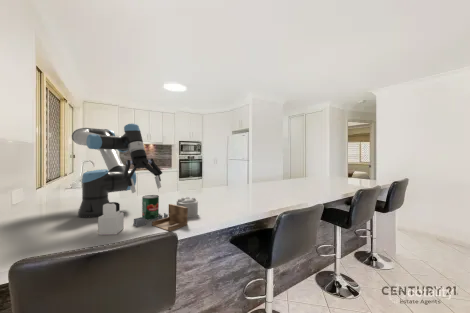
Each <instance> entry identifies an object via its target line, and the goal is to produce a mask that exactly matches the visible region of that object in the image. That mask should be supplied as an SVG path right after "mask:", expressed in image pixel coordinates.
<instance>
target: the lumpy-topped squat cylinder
mask: <svg viewBox="0 0 470 313" xmlns="http://www.w3.org/2000/svg"><path fill="white" fill-rule="evenodd" d="M198 203H199V202H198V200H197V198H196V197H192V198H190V196H186V197H183V196H182V197H181V198H178V199H177V201H176V205H178V206H183V207H188V218H191V217H192V218H193V217H198V214H199V213H198V211H199V208H198V206H199V204H198Z"/></svg>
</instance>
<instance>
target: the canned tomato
mask: <svg viewBox="0 0 470 313" xmlns="http://www.w3.org/2000/svg"><path fill="white" fill-rule="evenodd" d="M141 198H142V199H141V202H142V203H141V204H142V205H141V217H143V218H145V221H155V220H158V218H159V214H160V212H159V203H160V196H159V194H148V195H143V196H142V197H141Z"/></svg>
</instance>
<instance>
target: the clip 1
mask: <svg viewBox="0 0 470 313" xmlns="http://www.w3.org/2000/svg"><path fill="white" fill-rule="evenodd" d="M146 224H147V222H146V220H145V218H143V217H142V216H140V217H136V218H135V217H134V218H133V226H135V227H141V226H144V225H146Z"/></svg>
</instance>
